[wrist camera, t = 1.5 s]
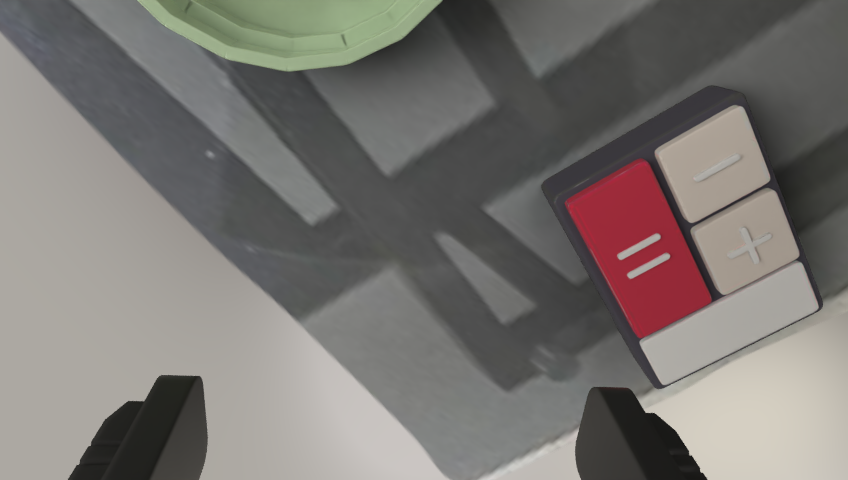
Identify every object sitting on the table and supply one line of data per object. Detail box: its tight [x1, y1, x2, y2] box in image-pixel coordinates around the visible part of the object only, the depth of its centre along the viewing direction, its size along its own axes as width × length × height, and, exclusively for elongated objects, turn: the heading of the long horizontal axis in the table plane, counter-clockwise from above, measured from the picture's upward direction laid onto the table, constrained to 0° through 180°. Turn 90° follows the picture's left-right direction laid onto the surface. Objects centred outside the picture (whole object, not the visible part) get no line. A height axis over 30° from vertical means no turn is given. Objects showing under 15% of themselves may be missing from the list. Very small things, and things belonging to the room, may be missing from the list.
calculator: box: [542, 86, 823, 389], centre depth 34 cm, size 11×4×15 cm
